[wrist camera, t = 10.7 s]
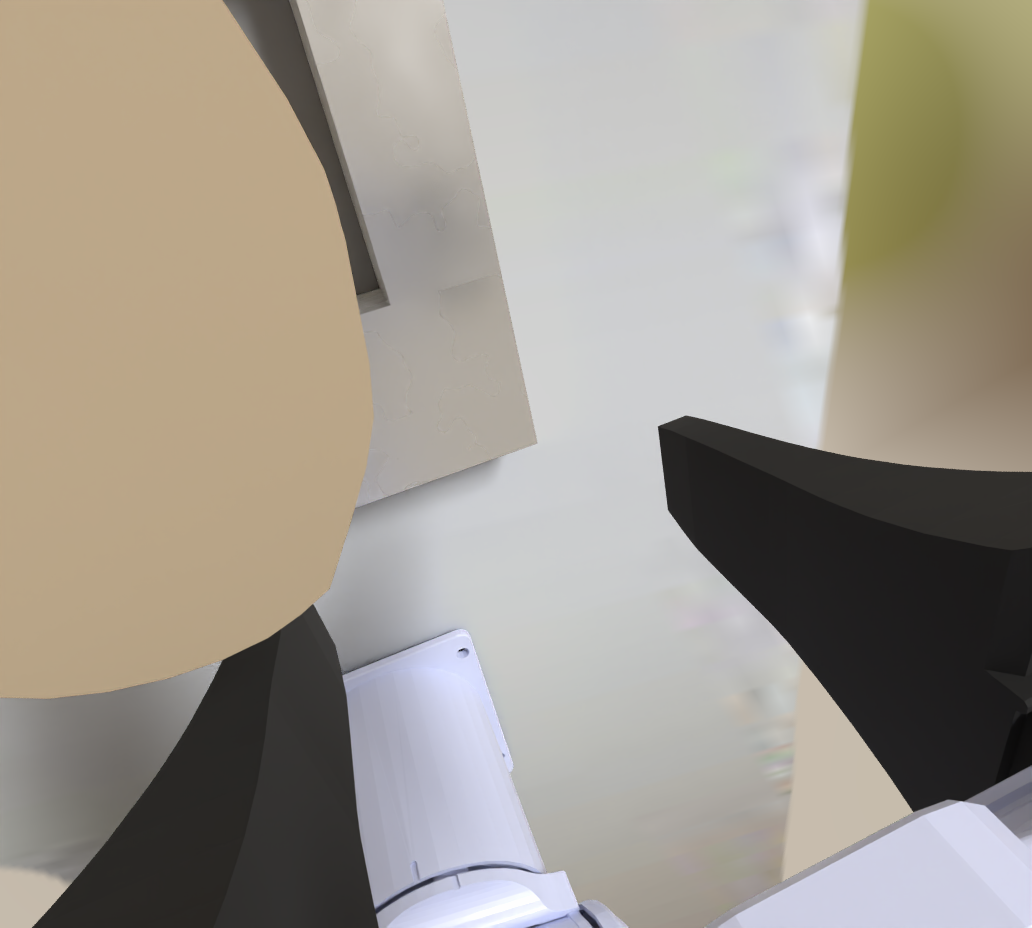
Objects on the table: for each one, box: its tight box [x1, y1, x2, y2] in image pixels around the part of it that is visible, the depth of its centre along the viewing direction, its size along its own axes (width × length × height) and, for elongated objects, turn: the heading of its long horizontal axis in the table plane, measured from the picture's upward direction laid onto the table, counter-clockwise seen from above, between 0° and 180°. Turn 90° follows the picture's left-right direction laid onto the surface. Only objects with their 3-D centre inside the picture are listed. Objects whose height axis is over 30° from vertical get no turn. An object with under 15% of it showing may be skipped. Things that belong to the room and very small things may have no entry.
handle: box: [0, 0, 374, 699], centre depth 11 cm, size 5×6×15 cm
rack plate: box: [289, 0, 537, 508], centre depth 16 cm, size 20×14×2 cm
